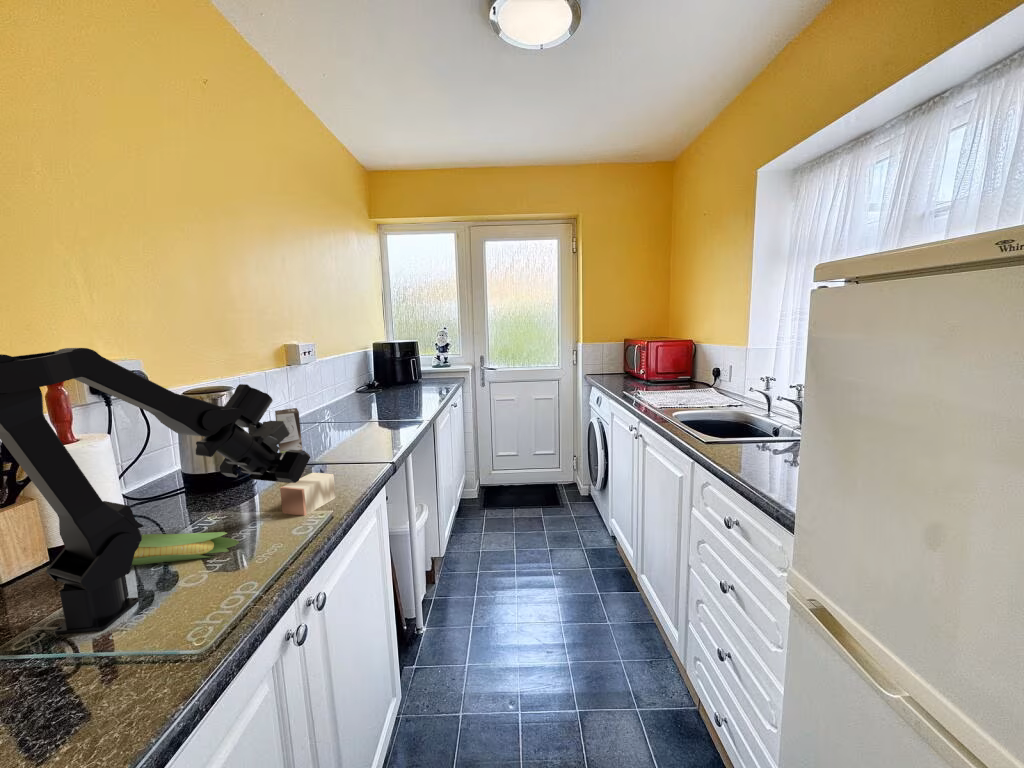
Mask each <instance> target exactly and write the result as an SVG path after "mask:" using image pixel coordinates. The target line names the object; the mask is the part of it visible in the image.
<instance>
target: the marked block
mask: <svg viewBox="0 0 1024 768" xmlns="http://www.w3.org/2000/svg"><path fill="white" fill-rule="evenodd" d="M334 476H335V475H334V474H332V473H325V472H311V473H309V474H306V475H305V476H301V477H300V479H299V481H297V482H296V483H287V484H284V485H283V486H280V488H279V492H280V500H281V501H280V502H281V510H282V514H286V515H296V516H303V517H304V516H307V515H308V514H310V513H312V512H314V511H315V510H318V509H319V508H320V507H322V506H324V505H326V504H328V503H329V502H331V501H332V500H335V499H336V489H335V487H336V486H335V477H334Z"/></svg>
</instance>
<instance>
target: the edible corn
mask: <svg viewBox="0 0 1024 768" xmlns="http://www.w3.org/2000/svg"><path fill="white" fill-rule="evenodd" d="M227 534H228V532H225V531H218V532H217V531H216V532H214V531H213V532H196V533H193V532H192V533H191V532H190V533H154V534H153V533H152V534H151V533H149V534H146V533H145V534H141V535H142V541H141V542H140V544H139V547H138V549H137V550H136V551H135V554H134V558H133V562H132V566H140V565H141V566H142V565H150V564H158V563H159V564H160V563H161V564H162V563H168V562H179V561H188V560H189V561H191V560H199V559H200V560H201V559H209V558H213V556H208V555H206V554H215V553H224V552H225V553H227V552H230V550H229V548H233V547H235V546H236V545H238V544H239V543H240V541H238V540H237V539H235V538H230V537H223V536H224V535H227ZM132 566H131V567H132Z"/></svg>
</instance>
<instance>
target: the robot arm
mask: <svg viewBox="0 0 1024 768" xmlns="http://www.w3.org/2000/svg"><path fill="white" fill-rule="evenodd" d="M70 380H75V381H77V382H80V383H82V384H84V385H87V386H88V387H91V388H93V389H96V390H99V391H101V392H102V393H105V394H107V395H110V396H112V397H113V398H117V399H118V400H121V401H123V402H126V403H128V404H129V405H132V406H135V407H137V408H139V409H141V410H144V411H146V412H148V413H150V414H151V415H153V416H154V417H155V418H156V419H157V420H158V421H159V422H160V423H161V424H162V425H164V426H165V427H167V428H168V429H170V430H171V431H173V432H174V433H176V434H180V435H182V436H183V435H184V436H192V437H203V438H202V439H201V440H198V441H197V440H196V442H195V445H196V448H195V455H196V456H200V457H205V458H206V457H208V458H213V457H214V455H215V454H216V453H217V454H219V455H221V456H222V457H224V459H223V461H222V462H221V464H220V465H219V472H220V474H222V475H224V476H225V477H230V478H238V476H239V473H238V472H237V468H238V467H240V468H241V469H240V472H242V473H243V474H249V476H248V479H250V480H255V481H264V482H274V483H287V484H289V483H296V482H297V481H299V479H300V478H302V475H303V472H304V471H305V470H306V468H307V465H308V463H309V461H310V459H311V455H310V454H309V453H308V452H306V451H305V450H303V449H302V450H289V451H286V452H285V454H283V453H279V445H278V444H279V443H280V442H281V441H282V440H283V439H284V438H285V437H288V436H289V434H290V433H289V431H288V429H287V427H286V426H285V424H284V422H283V421H276V420H268V421H263V422H260V421H261V419H263V416H264V415H265V413H266V412H267V410H268V409H269V407H270V406H271V404H272V403H273V398H272V397H271V395H270V394H268V393H267V392H263V391H261V390H260V389H257V388H254V387H251V386H250V385H249V384H243V383H241V384H238V385H237V386H236V388H235V389H234V392H233V394H232V395H231V396H230V398H229V399H228V401H227V402H226V403H225V405H218V404H216V403H212V402H209V401H206V400H202V399H199V398H197V397H195V398H194V397H190V396H186V395H182V394H179V393H176V392H173V391H172V390H169V389H167V387H164V386H161V385H159V384H158V383H155V382H154V381H152V380H150V379H148V378H146V377H143V376H141V375H140V374H139V373H138V374H137V373H135V372H133V371H131V370H129V369H128V368H125V367H124V366H122V365H120V364H118V363H116V362H113V361H112V360H110V359H108V358H105V357H103V356H102V355H100V354H99V352H98V351H96V350H94V349H91V348H88V347H65V348H60V349H58V350H54V351H47V352H39V353H29V354H23V355H14V356H12V355H7V354H2V353H1V354H0V441H1V443H3V445H4V447H6V449H7V450H8V451H9V453H10V454H11V456H12V457H13V458H14V460H15V461H16V463H18V465H19V466H20V468H22V470H23V472H25V474H26V475H27V477H28V478H29V479H30V481H31V482H32V483H33V484H34V486H35V487H36V488H37V489H38V491H39V493H40V494H41V495H42V496H43V498H44V499H45V501H46V502H47V503H48V504H49V506H50V508H52V510H53V511H54V512H55V513H56V515H57V517H58V524H59V525H58V526H59V535H60V538H61V540H62V542H63V545H64V547H63V549H62V550H61V551H60V553H58V555H57V556H56V557H55V558H54V559H53V561H52V562H51V564H50V565H48V567H47V569H46V570H45V572H46V574H47V575H48V576H49V577H50V578H51V580H52V581H54V582H61V583H62V584H63V586H62V587H63V588H62V589H60V590H59V595H60V596H59V597H60V600H61V606H62V612H63V617H64V622H63V623H62V624H60V625H58V627H56V628H55V629H54V630H53V632H54V634H55V635H57V634H69V633H70V634H71V633H82V632H83V633H84V632H92V631H102V630H105V629H107V628H108V627H109V626H110V625H112V624H113V623H114V622H116V621H117V620H118V619H120V618H121V617H122V616H123V615H124V614H125V613H126V612H128V611H129V610H130V609H132V607H134V606H135V605H136V604H137V603H138V602H140V598H139V596H138V597H129V589H128V584H127V583H128V582H127V578H126V575H129V574H130V572H131V569H132V562H133V558H134V554H135V551H136V550H137V549H138V547H139V544H140V542H141V541H142V535H143V534H142V532H141V530H140V529H141V528H143V527H144V524H142V523H140V522H138V520H136V518H135V516H134V512H133V510H132V509H131V507H130V506H129V505H126V504H122V503H117V502H112V501H107V500H103V499H102V498H101V497H100V495H99V493H97V491H96V490H95V488H94V487H93V484H91V481H89V480H88V478H87V477H86V475H85V474H84V472H83V471H82V470H81V468H80V466H79V465H78V464H77V462H76V460H75V459H74V458H73V456H72V455H71V454H70V452H69V451H68V449H67V448H66V446H65V445H64V444H63V442H62V441H61V439H60V438H59V436H58V435H57V433H56V432H55V430H54V429H53V427H52V426H51V425H50V423H49V422H48V420H47V418H46V416H45V413H44V402H43V401H44V400H43V399H44V398H43V393H42V390H41V387H48V386H52V385H55V384H59V383H62V382H66V381H70ZM243 428H248V429H247V430H248V431H246V430H245V429H243Z"/></svg>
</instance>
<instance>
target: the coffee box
mask: <svg viewBox="0 0 1024 768" xmlns="http://www.w3.org/2000/svg"><path fill="white" fill-rule="evenodd" d="M274 413H275V414H274V415H275V421H283V422H284V424H285V426H286V427H287V429H288V431H289V433H290V434H289V436H288V437H285V438H284V439H283V440H282V441H281V442H280V443H279V444H278V445H277V446H278V447H279V450H278V453H283V454H285V452H286V451H289V450H302V451H303V441H302V433H301V431H302V430H301V422H300V421H301V420H300V411H299V410H298V408H297V407H293V408H286V409H279V410H275V411H274Z"/></svg>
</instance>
